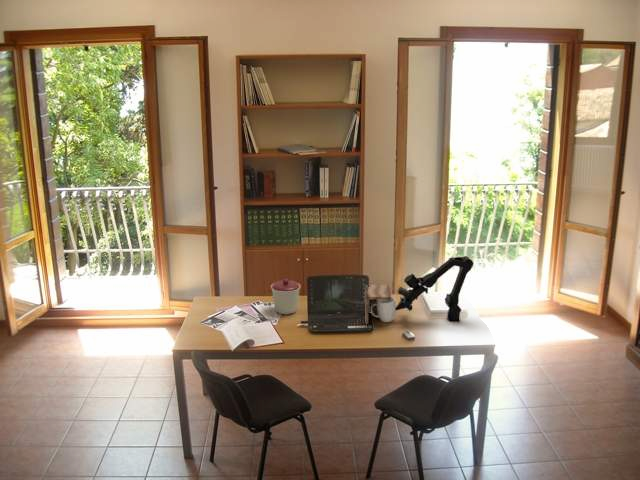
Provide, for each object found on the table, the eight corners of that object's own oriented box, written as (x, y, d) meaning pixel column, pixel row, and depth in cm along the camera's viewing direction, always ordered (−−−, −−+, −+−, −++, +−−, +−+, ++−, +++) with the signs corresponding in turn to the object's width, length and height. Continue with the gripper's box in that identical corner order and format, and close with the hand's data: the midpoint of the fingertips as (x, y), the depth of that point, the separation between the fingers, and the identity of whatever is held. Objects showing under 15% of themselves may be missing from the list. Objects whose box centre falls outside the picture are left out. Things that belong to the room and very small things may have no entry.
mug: (370, 323, 357) (369, 303, 353) (371, 316, 368) (370, 296, 364) (395, 323, 355) (395, 302, 351) (396, 316, 365) (395, 295, 362)
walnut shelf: (387, 312, 371) (388, 284, 366) (389, 326, 352) (390, 297, 347) (364, 312, 372) (365, 284, 367) (365, 326, 353) (366, 296, 347)
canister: (302, 306, 381) (302, 274, 375) (298, 317, 364) (298, 284, 358) (274, 304, 383) (273, 273, 377) (268, 316, 365) (268, 283, 359)
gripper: (404, 277, 363) (385, 294, 366) (408, 289, 345) (387, 306, 348) (416, 290, 365) (397, 307, 368) (421, 302, 347) (400, 319, 350)
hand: (395, 309), depth 359 cm, fingers closed, pressing on mug
